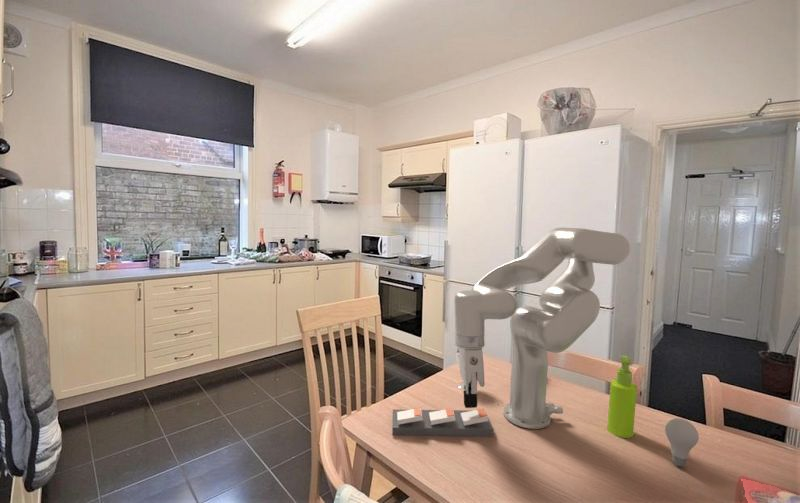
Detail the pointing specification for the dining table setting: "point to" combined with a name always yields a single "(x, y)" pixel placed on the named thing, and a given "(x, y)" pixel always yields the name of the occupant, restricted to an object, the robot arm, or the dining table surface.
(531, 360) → the robot arm
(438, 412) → the rocker middle
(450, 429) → the strip
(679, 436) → the lightbulb
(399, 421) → the block
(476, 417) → the rocker
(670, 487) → the dining table surface
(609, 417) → the soap dispenser
